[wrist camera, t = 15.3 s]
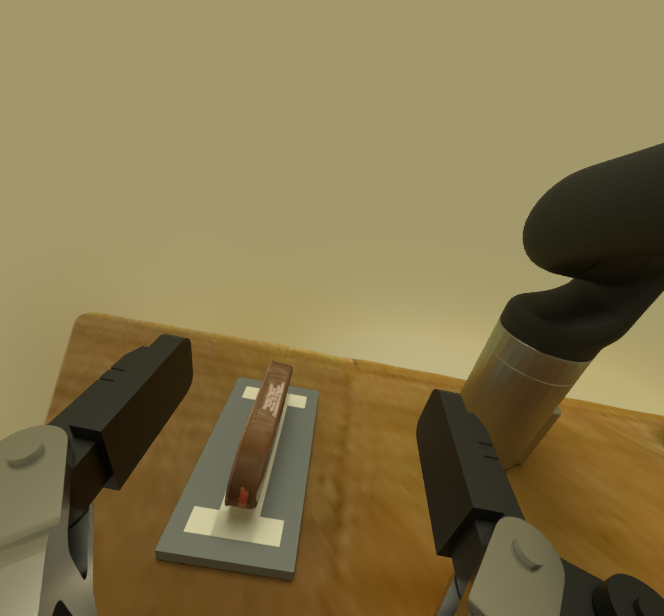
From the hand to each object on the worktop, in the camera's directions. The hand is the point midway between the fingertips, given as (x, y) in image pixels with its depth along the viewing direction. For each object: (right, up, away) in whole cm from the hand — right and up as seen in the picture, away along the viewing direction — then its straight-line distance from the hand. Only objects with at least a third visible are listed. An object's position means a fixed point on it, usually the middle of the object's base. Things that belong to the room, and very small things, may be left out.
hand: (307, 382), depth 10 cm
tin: (-7, -13, +23) cm, 27 cm away
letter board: (-7, -14, +23) cm, 28 cm away
